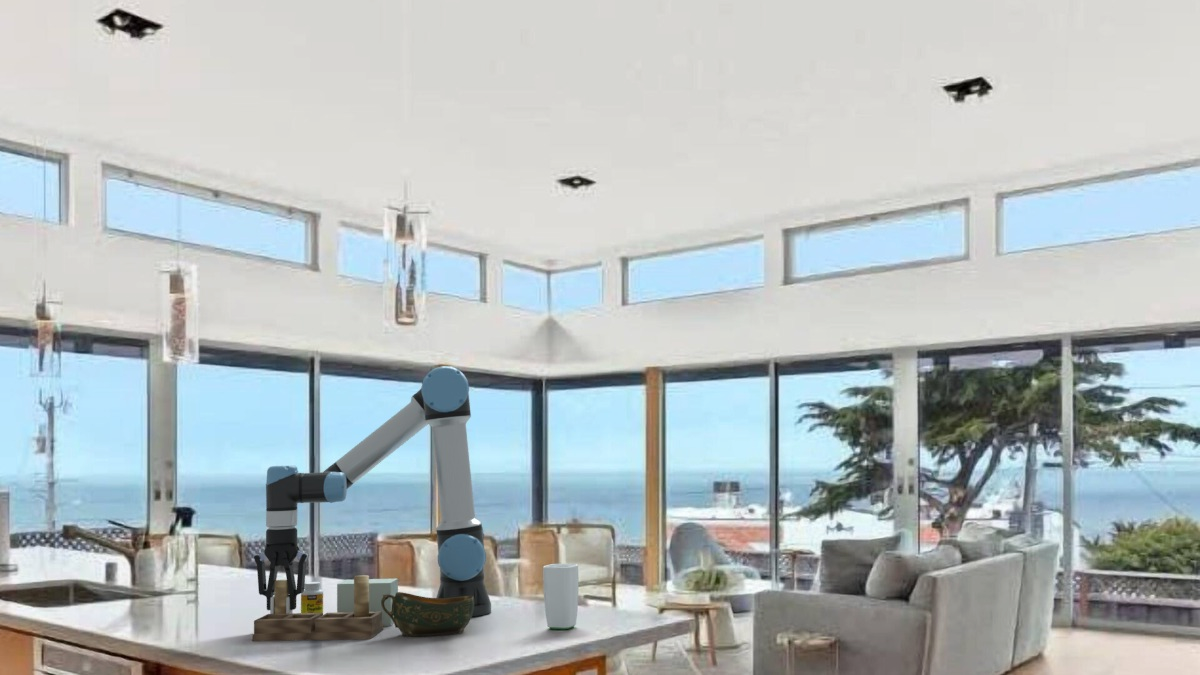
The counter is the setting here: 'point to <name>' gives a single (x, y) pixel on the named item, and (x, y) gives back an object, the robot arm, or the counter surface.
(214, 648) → the counter surface
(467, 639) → the counter surface
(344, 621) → the wooden compartment tray
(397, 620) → the green gravy boat
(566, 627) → the cup
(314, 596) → the supplement bottle
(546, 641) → the counter surface
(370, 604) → the pale green boxy piece
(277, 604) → the peg
